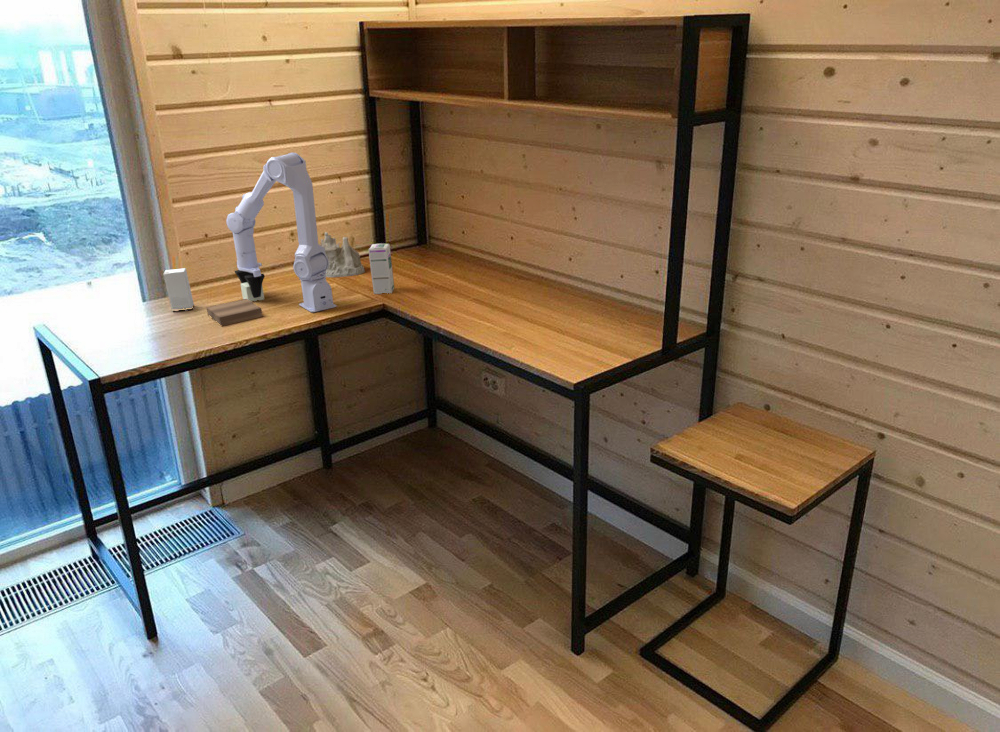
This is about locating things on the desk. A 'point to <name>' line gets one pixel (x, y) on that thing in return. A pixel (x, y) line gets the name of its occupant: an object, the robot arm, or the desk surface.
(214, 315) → the walnut box
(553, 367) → the desk surface
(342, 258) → the rocky castle sculpture
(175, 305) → the skincare box
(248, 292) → the white block
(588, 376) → the desk surface
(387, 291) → the syrup box
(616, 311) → the desk surface
